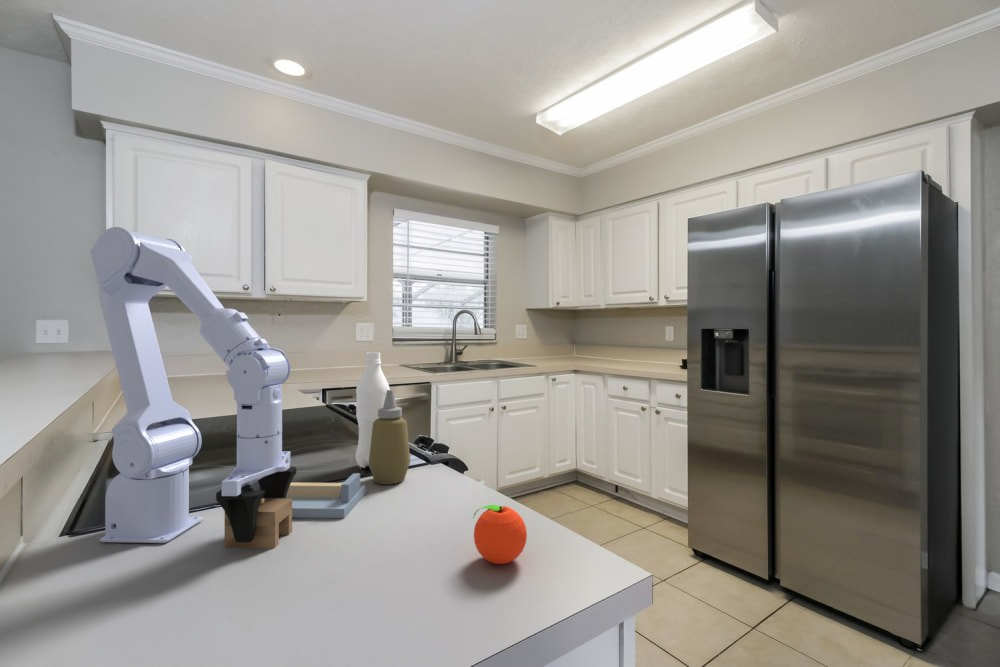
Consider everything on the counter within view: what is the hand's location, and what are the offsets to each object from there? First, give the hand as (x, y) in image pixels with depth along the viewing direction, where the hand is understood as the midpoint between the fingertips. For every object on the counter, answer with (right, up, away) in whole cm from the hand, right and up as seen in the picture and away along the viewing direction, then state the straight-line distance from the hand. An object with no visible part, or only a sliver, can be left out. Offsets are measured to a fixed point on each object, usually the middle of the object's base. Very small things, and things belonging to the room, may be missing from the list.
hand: (259, 528), depth 65 cm
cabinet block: (0, -2, 0) cm, 2 cm away
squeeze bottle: (+12, -2, +26) cm, 29 cm away
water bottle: (+6, -2, +35) cm, 36 cm away
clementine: (+34, -2, -5) cm, 34 cm away
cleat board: (+3, -1, +13) cm, 13 cm away
